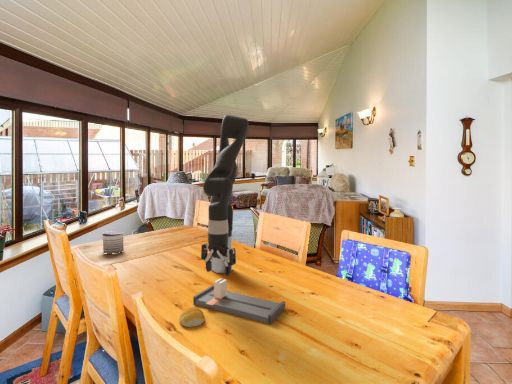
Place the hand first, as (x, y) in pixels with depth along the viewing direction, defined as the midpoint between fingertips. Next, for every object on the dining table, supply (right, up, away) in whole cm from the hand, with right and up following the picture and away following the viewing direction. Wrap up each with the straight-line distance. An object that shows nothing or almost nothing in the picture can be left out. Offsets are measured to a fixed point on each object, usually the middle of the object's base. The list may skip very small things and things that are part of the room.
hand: (218, 273), depth 122 cm
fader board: (+8, -12, -3) cm, 14 cm away
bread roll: (-7, -13, -13) cm, 20 cm away
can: (-69, -5, +66) cm, 96 cm away
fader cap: (+1, -9, +1) cm, 9 cm away
